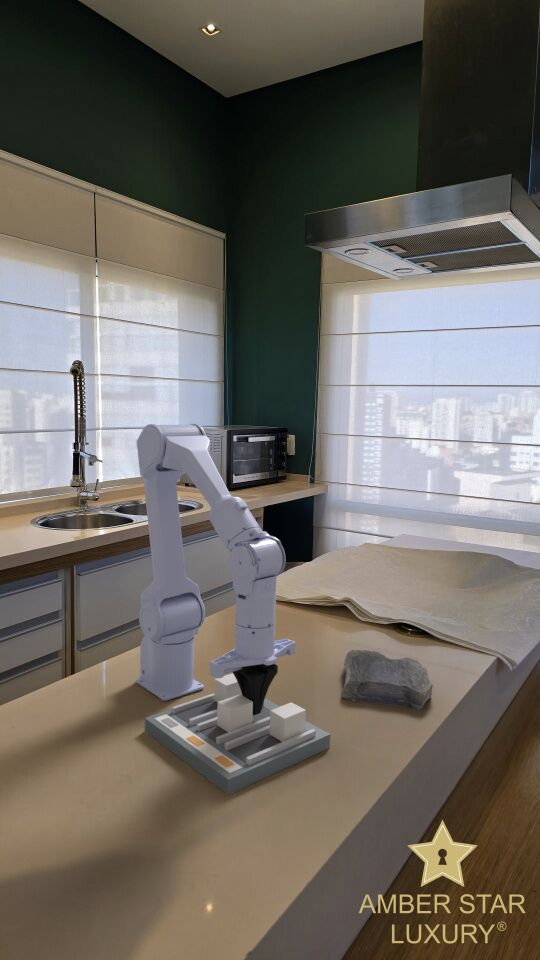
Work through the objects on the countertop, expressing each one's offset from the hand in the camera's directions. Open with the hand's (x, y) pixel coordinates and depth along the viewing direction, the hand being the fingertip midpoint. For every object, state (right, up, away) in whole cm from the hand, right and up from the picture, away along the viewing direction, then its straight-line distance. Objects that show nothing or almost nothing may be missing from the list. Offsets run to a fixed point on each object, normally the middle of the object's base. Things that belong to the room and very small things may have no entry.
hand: (253, 711), depth 97 cm
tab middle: (-3, -1, -2) cm, 4 cm away
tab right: (+5, -2, -4) cm, 7 cm away
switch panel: (-2, -3, -2) cm, 4 cm away
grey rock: (+22, -2, +18) cm, 29 cm away
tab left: (-4, 0, +6) cm, 7 cm away
